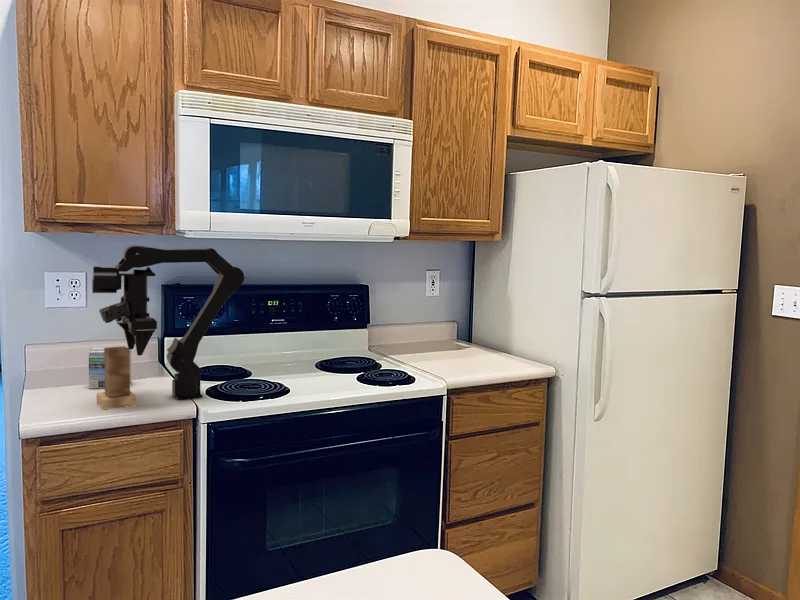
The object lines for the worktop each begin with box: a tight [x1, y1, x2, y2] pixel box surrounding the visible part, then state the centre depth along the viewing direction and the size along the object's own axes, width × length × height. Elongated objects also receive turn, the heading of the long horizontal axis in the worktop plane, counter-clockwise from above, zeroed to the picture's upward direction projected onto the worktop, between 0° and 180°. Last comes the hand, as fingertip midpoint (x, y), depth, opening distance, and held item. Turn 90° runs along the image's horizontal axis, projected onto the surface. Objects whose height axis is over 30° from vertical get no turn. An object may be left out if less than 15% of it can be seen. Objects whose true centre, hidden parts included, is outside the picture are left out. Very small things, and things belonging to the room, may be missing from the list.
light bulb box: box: [88, 346, 133, 390], centre depth 185 cm, size 11×7×11 cm, turn 105°
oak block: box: [96, 390, 137, 411], centre depth 167 cm, size 8×8×3 cm
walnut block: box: [103, 346, 131, 397], centre depth 166 cm, size 5×5×12 cm
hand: (135, 352), depth 169 cm, fingers open, 9 cm apart
